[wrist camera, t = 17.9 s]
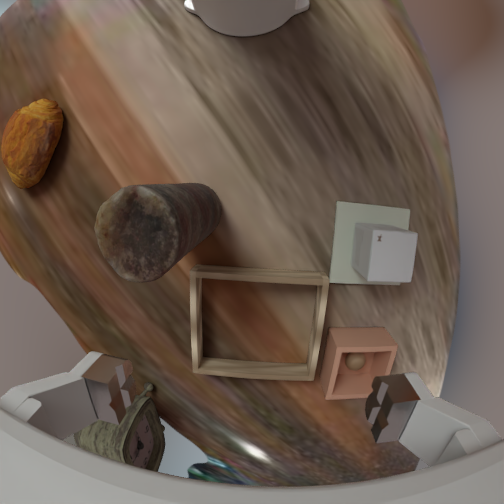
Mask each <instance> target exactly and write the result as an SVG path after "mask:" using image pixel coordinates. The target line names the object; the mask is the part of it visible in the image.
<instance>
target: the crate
mask: <svg viewBox="0 0 504 504" xmlns="http://www.w3.org/2000/svg"><path fill="white" fill-rule="evenodd" d="M202 278H208V279H222V280H236V281H252V282H268V283H285V284H304V285H317V293H316V301H315V309H314V316H313V324H312V331H311V337H310V344H309V351H308V357H307V363H306V364H302V363H274V362H256V361H242V360H230V359H219V358H210V357H203V344H202ZM329 281H330V279H329V278H328V276H327V275H326V273H325V272H314V271H295V270H278V269H261V268H245V267H229V266H214V265H199V264H196V265H195V266H194V267H193V268H192V269H191V270H190V314H191V343H192V363H193V373H200V374H208V375H217V376H227V377H238V378H252V379H268V380H296V381H314V376H315V370H316V365H317V360H318V354H319V348H320V343H321V337H322V330H323V324H324V317H325V311H326V304H327V296H328V289H329Z"/></svg>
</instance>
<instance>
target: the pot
mask: <svg viewBox="0 0 504 504" xmlns="http://www.w3.org/2000/svg"><path fill="white" fill-rule="evenodd" d="M397 349H398V345H397V343H396V342H395V341H394V339H393V338H392V337H391V336H390V334H389V333H388V332H387V330H386V329H385V328H384V327H329V328H328V334H327V340H326V346H325V351H324V357H323V362H322V367H321V372H320V380H321V384H322V388H323V392H324V396H325V400H330V399H354V398H368V396H369V395H370V394H371V393H372V392H373V389H372V387H371V385H372V382H373V379H374V378H375V376H385V375H390V372H391V369H392V365H393V362H394V359H395V356H396V352H397ZM349 352H363V353H364V355H365V357H366V362H365V365H364V366H363V367H362V368H361V369H359V370H357V371H353V370H350V369H348V368H347V366H346V365H345V357H346V355H347V354H348V353H349Z"/></svg>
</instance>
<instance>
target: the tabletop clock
mask: <svg viewBox="0 0 504 504" xmlns="http://www.w3.org/2000/svg"><path fill="white" fill-rule="evenodd" d="M144 388H145V390H144V391H143V392H142V393H141V395H140V396H139V395H135V399H134V401H133V403H132V405H130V406H128V407H126V408H125V409H126V415H125V416H124V418H123V420H122V421H121V423H120V425H117V424H113V423H109V422H106V421H102V420H99V419H98V421H96V422H94V423H92V424H90V425H89V426H87V427H85V428H83V429H82V430H80V431H78V432H76V433H74V439H75V442H76V444H77V446H78V447H80V448H83V449H85V450H88V451H90V452H93V453H96V454H98V455H101V456H104V457H107V458H110V459H113V460H116V461H119V462H123V463H126V464H129V465H133V466H136V467H140V468H144V469H147V470H151V471H156V472H158V469H159V466H160V463H161V460H162V456H163V453H164V449H165V438H164V433H163V431H164V430H165V427H164V426H163V425H161V422H160V418H159V415H158V412H157V409H156V406H155V404H154V402H153V400H152V399H151V397H146V396H145V395H146V393H147V391H152V390H153V385H152V384H151V383H149V382H148V383H146V384H145V385H144Z"/></svg>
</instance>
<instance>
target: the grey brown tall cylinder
mask: <svg viewBox="0 0 504 504" xmlns="http://www.w3.org/2000/svg"><path fill="white" fill-rule="evenodd" d="M220 215H221V206H220V202H219V199H218V197H217V195H216V193H215V192H214V191H213V190H212V189H211V188H209V187H208V186H206V185H203V184H199V183H183V184H152V185H132V186H127V187H124V188H121V189H120V190H119V191H118V192H116V193H115V194H114V195H113V196H111V197H110V198H109V199H108V200H107V201H105V202H103V204H102V206H101V207H100V209H99V211H98V214H97V218H96V223H95V228H94V229H95V233H96V237H97V239H98V244H99V247H100V250H101V252H102V253H103V256H104V258H105V259H106V260H107V261H108V262H109V263H110V265H111V266H112V267H113V269H114V270H115V271H116V272H117V273H118V275H119V276H121V277H123V278H125V279H126V280H128V281H132V282H150V281H154V280H157V279H158V278H160V277H162V276H163V275H164V274H165V273H166V272H168V271H169V270H170V269H171V268H172V267H173V266H174V265H175V264H176V263H177V262H178V261H180V260H181V259H182V258H183V257H184V256H185V255H186V254H187V253H188V252H190V251H191V250H192V249H193V248H194V247H196V246H197V245H198V244H199V243H200V242H201V241H203V240H204V239H205V238H206V237H207V236H208V235H210V234H211V233H212V232H213V231H214V229H215V228H216V226H217V225H218V223H219V220H220Z"/></svg>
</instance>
